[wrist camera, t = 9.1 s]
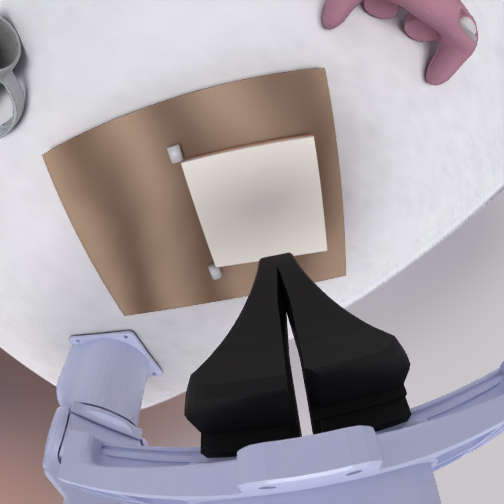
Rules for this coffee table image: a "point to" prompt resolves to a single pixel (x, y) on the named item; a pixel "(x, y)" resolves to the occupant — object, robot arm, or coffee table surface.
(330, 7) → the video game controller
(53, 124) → the coffee table surface
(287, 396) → the robot arm
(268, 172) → the hinged panel
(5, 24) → the ceramic mug
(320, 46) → the coffee table surface
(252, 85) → the board
